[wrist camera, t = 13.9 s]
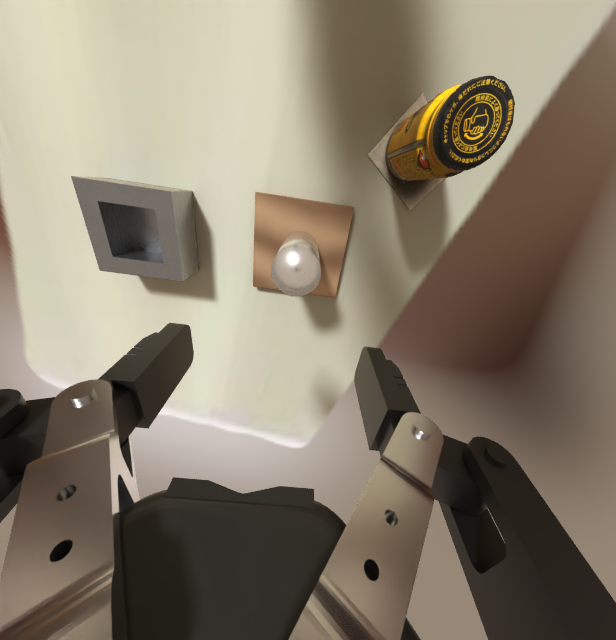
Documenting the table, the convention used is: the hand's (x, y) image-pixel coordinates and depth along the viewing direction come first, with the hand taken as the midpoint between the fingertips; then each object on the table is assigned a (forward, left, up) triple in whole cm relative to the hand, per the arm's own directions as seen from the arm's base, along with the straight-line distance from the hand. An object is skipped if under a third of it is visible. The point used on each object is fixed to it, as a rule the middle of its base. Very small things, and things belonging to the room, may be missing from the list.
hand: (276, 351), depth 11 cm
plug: (0, 0, -23) cm, 23 cm away
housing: (0, -19, -24) cm, 30 cm away
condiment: (-12, +12, -24) cm, 29 cm away
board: (0, 0, -24) cm, 24 cm away
